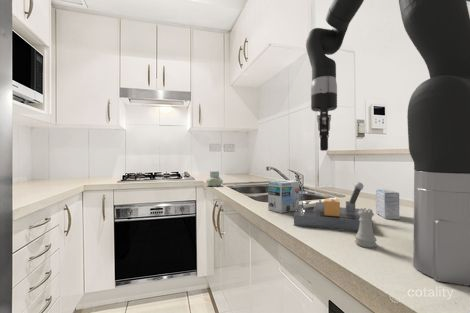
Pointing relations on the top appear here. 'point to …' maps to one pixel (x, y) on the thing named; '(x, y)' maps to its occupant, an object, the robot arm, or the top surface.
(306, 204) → the rocker paddle
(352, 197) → the lever
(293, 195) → the light bulb box
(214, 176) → the air freshener
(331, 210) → the slider knob
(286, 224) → the top surface
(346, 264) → the top surface
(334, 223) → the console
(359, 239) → the rook chess piece
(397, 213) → the medicine box
